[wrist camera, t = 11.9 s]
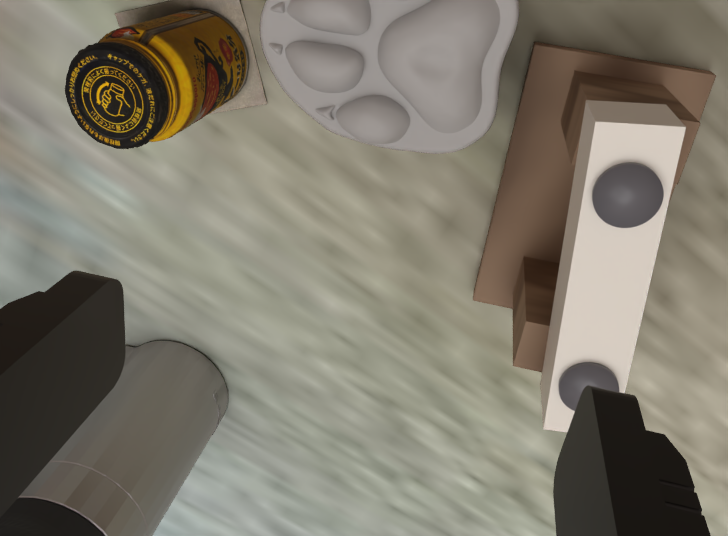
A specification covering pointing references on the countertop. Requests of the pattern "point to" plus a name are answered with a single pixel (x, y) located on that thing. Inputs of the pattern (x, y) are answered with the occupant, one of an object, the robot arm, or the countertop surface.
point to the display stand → (562, 173)
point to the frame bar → (608, 250)
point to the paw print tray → (392, 66)
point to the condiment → (164, 72)
